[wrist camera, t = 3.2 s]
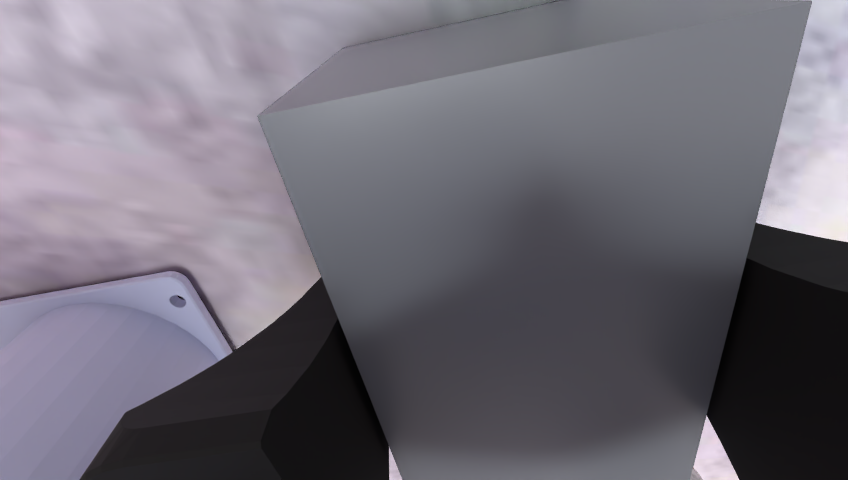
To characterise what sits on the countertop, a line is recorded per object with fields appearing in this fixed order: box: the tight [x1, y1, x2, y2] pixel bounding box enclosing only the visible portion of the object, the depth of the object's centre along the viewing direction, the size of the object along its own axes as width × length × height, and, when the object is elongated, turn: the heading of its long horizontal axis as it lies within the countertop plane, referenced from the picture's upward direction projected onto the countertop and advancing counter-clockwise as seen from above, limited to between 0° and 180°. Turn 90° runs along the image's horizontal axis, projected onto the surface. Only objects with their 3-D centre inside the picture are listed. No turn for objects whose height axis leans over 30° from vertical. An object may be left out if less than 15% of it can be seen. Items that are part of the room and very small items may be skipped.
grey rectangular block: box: [257, 0, 812, 480], centre depth 10 cm, size 11×6×7 cm, turn 11°
